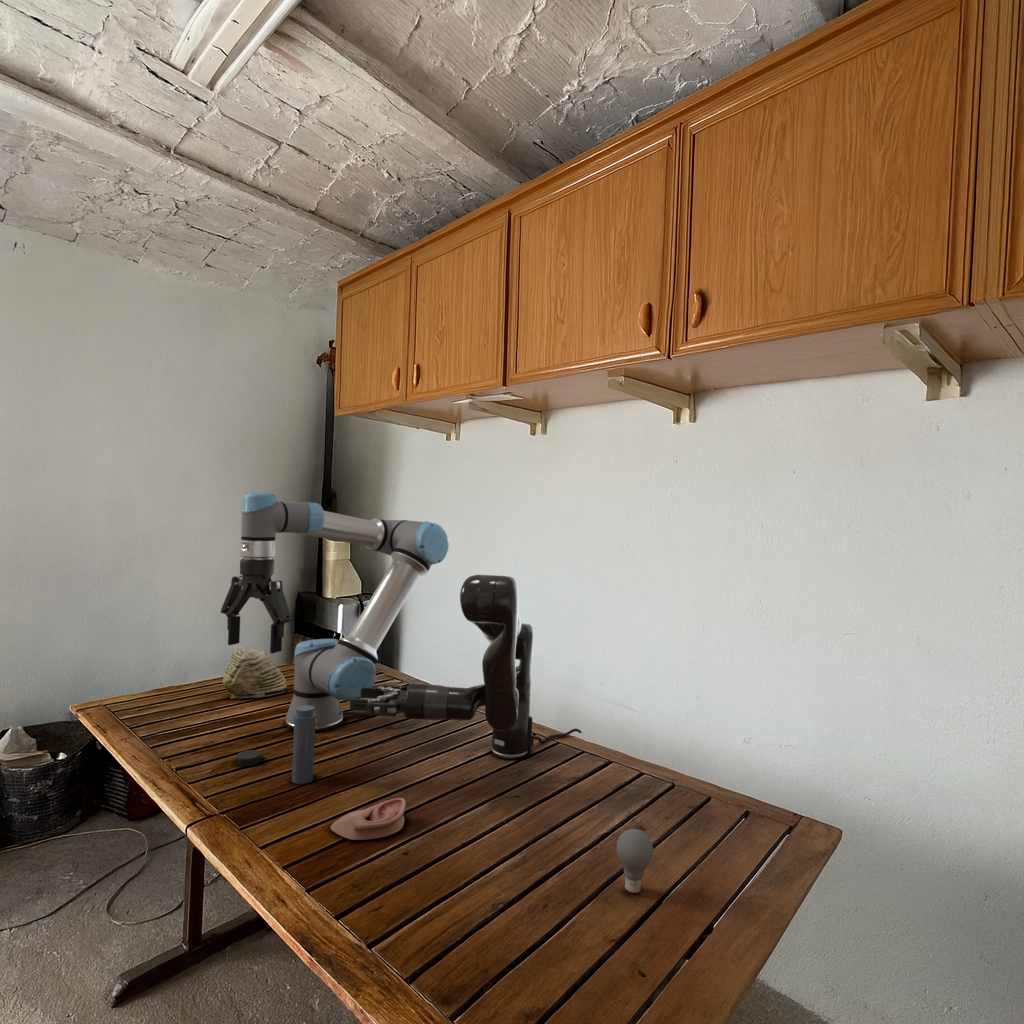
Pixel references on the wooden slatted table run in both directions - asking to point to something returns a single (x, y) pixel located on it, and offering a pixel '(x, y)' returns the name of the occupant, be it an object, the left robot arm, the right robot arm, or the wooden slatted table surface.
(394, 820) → the anatomical model
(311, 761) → the jar
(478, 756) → the wooden slatted table surface
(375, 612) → the left robot arm
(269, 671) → the fossil
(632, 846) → the light bulb
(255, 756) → the lid
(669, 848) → the wooden slatted table surface
